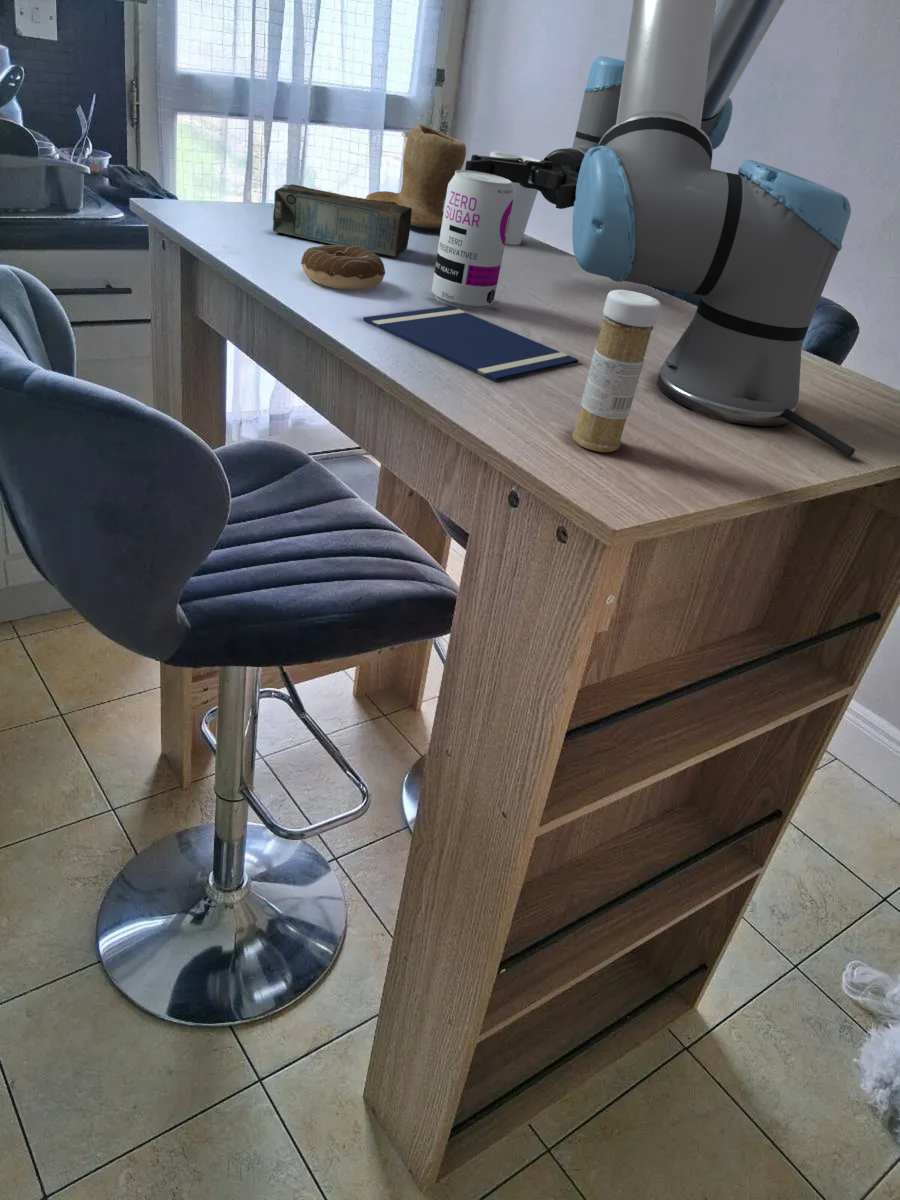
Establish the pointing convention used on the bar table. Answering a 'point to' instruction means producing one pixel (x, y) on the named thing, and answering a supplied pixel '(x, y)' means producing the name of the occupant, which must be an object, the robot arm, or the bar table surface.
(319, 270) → the donut
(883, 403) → the bar table surface
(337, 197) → the beverage carton
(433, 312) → the tea towel
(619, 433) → the sprinkles bottle
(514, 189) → the foam cup
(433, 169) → the tan boot
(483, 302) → the white soda can
